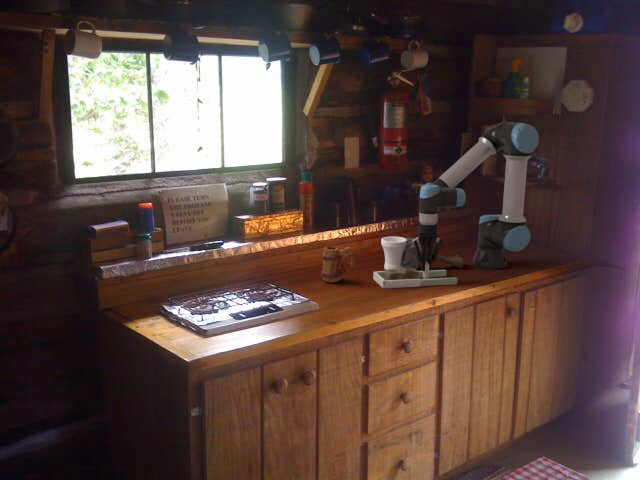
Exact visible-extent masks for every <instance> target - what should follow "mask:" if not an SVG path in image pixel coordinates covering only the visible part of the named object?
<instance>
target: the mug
mask: <svg viewBox="0 0 640 480" xmlns="http://www.w3.org/2000/svg"><path fill="white" fill-rule="evenodd" d="M320 256H321V258H322V271H320V275H321V277H322V280H323V281H324V282H327V283H337V282H339V281H341V280H342V276H343V273H344V275H347V274H349V273H350V272H351V271H352V270H353V269H354V267H355V265H356V254H355V251H354V250H353V248H351V247H349V246H347V247H345V248H343V249H340V247H338V246H334V245H333V246H325V247H323V253H322V254H321V255H320ZM343 256H344V257H345V258H346V259H348V260H347V264H346V265H343V264H341V259H342V258H343Z"/></svg>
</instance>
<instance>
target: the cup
mask: <svg viewBox="0 0 640 480" xmlns="http://www.w3.org/2000/svg"><path fill="white" fill-rule="evenodd" d="M406 245H407V238H405V237H403V236H402V237H401V236H393V235H392V236H385V237H382V238H381V246H382V249H383V253H384V266H383V268H384V271H385V270H390V269H399V270H400V268H401V263H402V256H403V253H404V250H405V247H406Z"/></svg>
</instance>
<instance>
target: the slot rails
mask: <svg viewBox="0 0 640 480" xmlns="http://www.w3.org/2000/svg"><path fill="white" fill-rule="evenodd" d="M417 271H418V272H419V276H418V279H420V287H426V286H427V287H428V286H429V287H431V286H433V287H434V286H447V285H451V286H452V285H458V277H457V276H455V277H447V270H446V269H436V270H435V269H433V270H432V269H431V270H430V271H429V278H428V279H424V278H423V271H422V270H417Z"/></svg>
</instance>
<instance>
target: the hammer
mask: <svg viewBox="0 0 640 480" xmlns="http://www.w3.org/2000/svg"><path fill="white" fill-rule="evenodd" d="M406 239H407V245H406V247H405V250H404V253H403V256H402V263H401V267H408V268H414V269H416V270H417V269H418V268H419V262H418V261H417V257H416V252H415V247H414V244H413V242H412V240H413V239H414V238H410V237H407V238H406ZM418 245H419V249H420V254H421V251H422V246H421V243H420V242H419V243H418ZM426 262H427V252H426ZM435 262H440V263H441V262H443V263H446V264H449V265H451V266H454V267H456V268H458V269H462V268H463V266H464V257H462V256H460V255H459V254H456V255H453V256H446V255H445V256H444V255H440V254H439V255H437V258H436V261H435Z"/></svg>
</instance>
